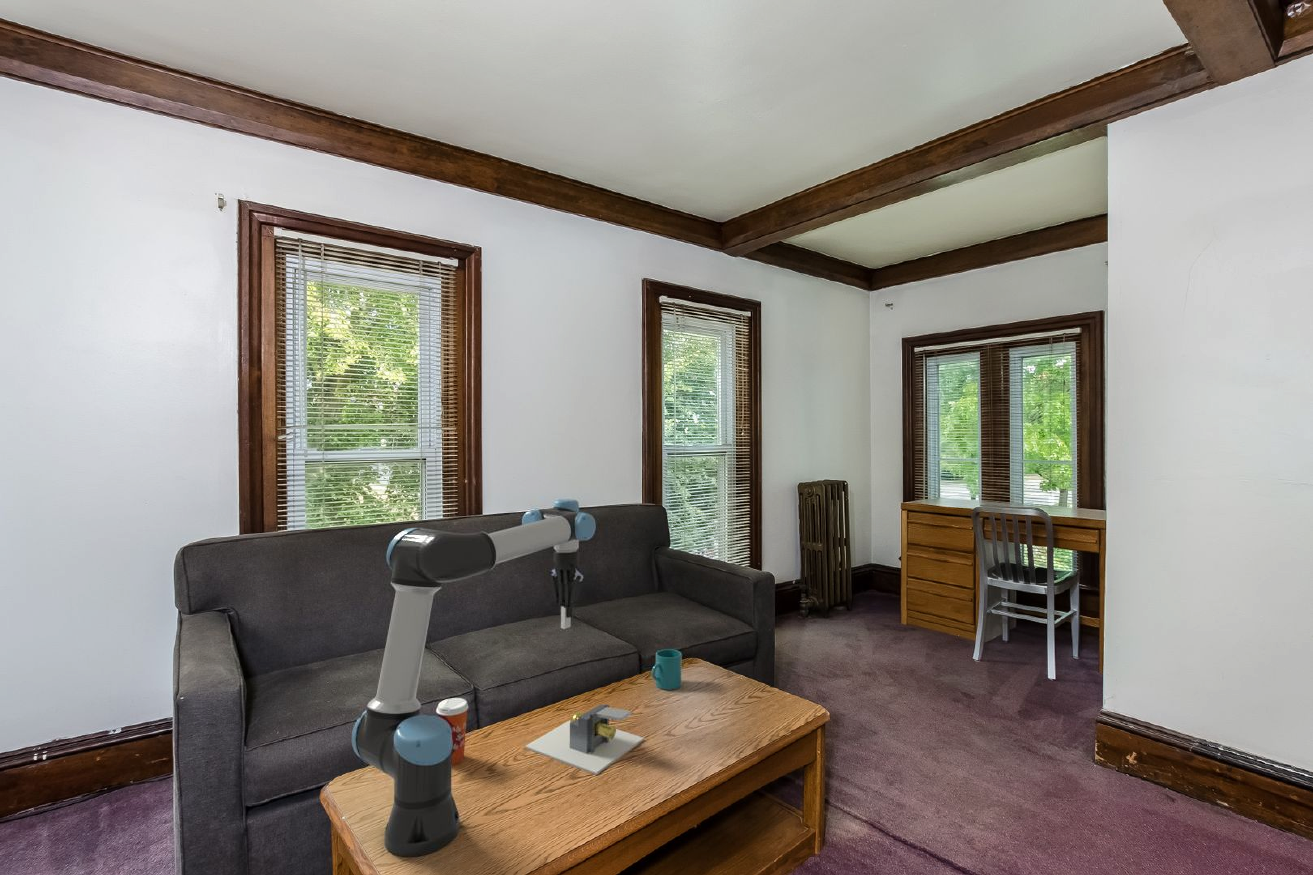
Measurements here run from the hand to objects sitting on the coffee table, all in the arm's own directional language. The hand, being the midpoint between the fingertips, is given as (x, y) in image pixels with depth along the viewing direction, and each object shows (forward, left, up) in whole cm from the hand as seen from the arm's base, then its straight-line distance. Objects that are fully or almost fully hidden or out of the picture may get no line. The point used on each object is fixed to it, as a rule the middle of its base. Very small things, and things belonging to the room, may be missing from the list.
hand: (565, 627), depth 187 cm
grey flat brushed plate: (-8, -20, -18) cm, 28 cm away
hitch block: (-8, -16, -28) cm, 34 cm away
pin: (-8, -18, -25) cm, 32 cm away
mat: (-8, -15, -28) cm, 33 cm away
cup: (+39, -12, -29) cm, 50 cm away
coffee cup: (-34, +10, -29) cm, 46 cm away
